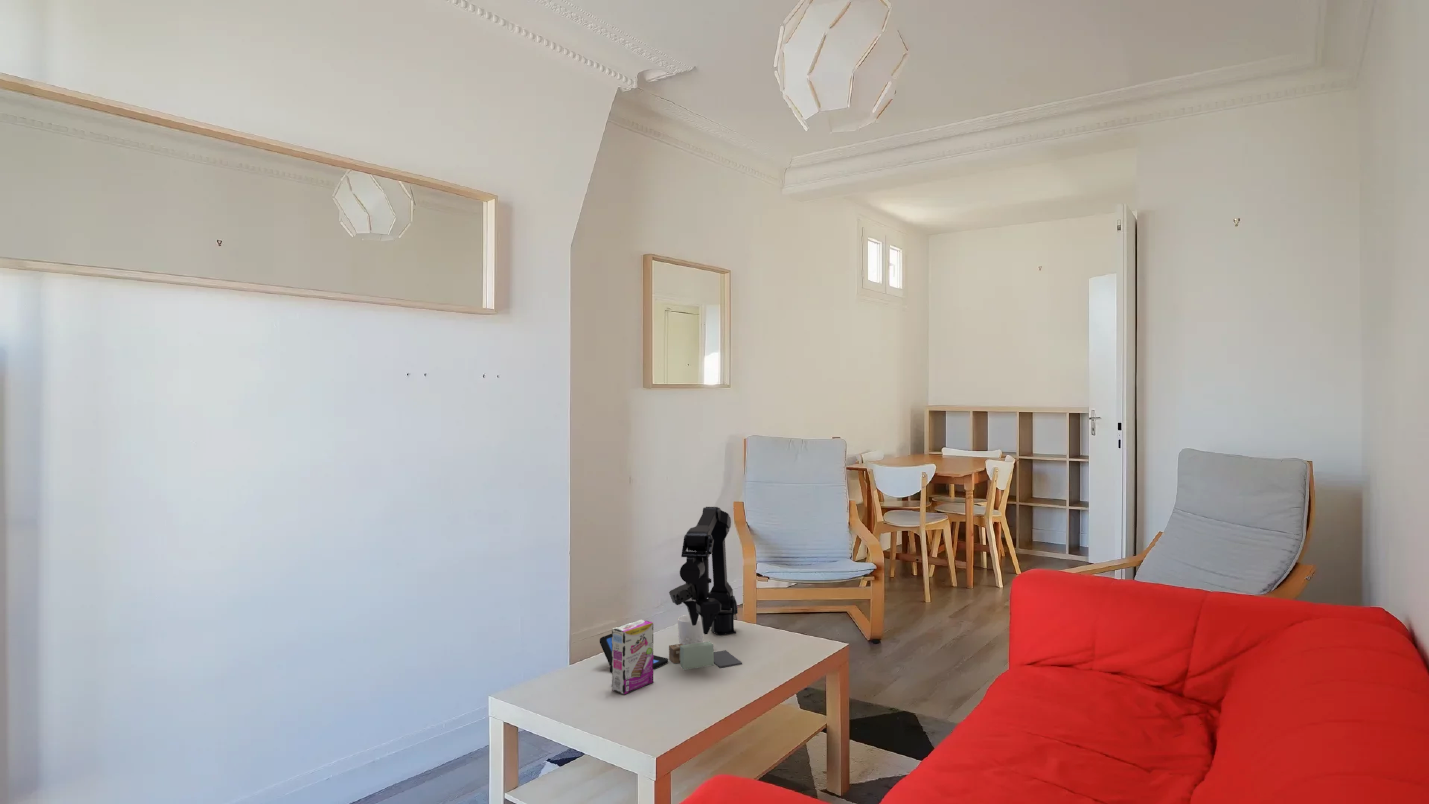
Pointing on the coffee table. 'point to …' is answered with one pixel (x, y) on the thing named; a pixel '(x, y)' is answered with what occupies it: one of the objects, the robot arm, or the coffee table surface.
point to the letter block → (674, 653)
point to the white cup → (689, 630)
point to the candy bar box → (632, 656)
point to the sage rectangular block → (696, 655)
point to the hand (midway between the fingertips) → (699, 629)
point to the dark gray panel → (725, 659)
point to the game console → (607, 648)
